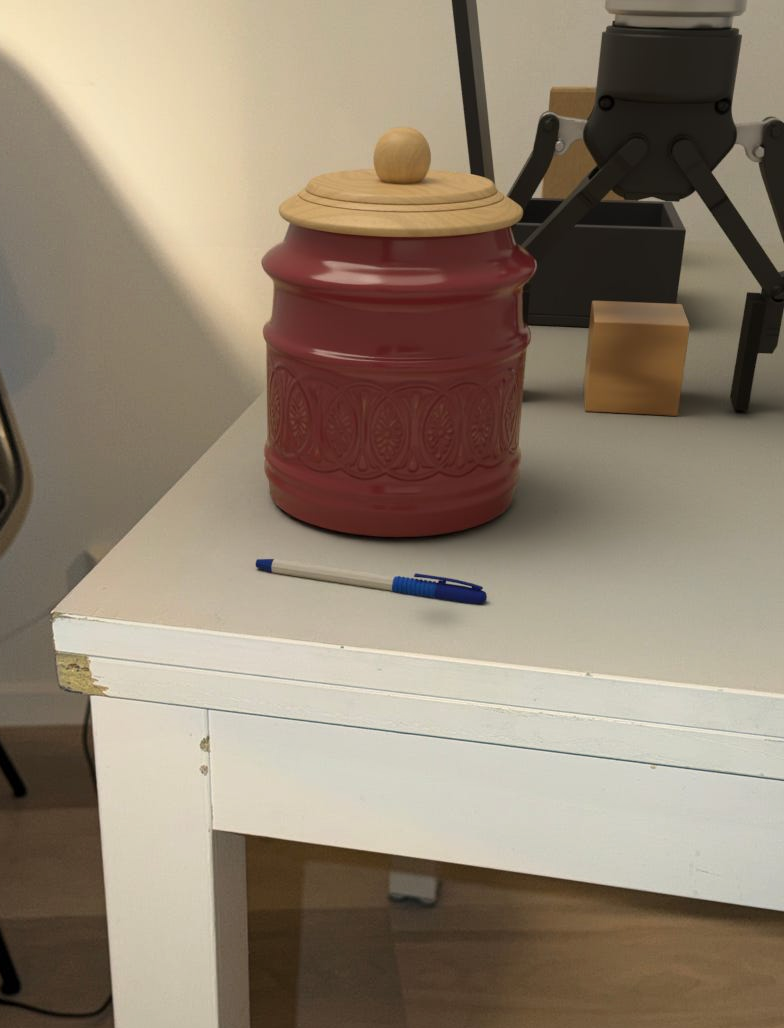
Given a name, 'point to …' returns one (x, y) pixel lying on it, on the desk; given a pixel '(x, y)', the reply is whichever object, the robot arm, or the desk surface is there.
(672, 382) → the block
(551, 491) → the desk surface
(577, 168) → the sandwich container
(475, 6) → the black box cover
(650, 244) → the dark grey storage bin
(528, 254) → the kitchen canister
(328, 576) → the ballpoint pen
